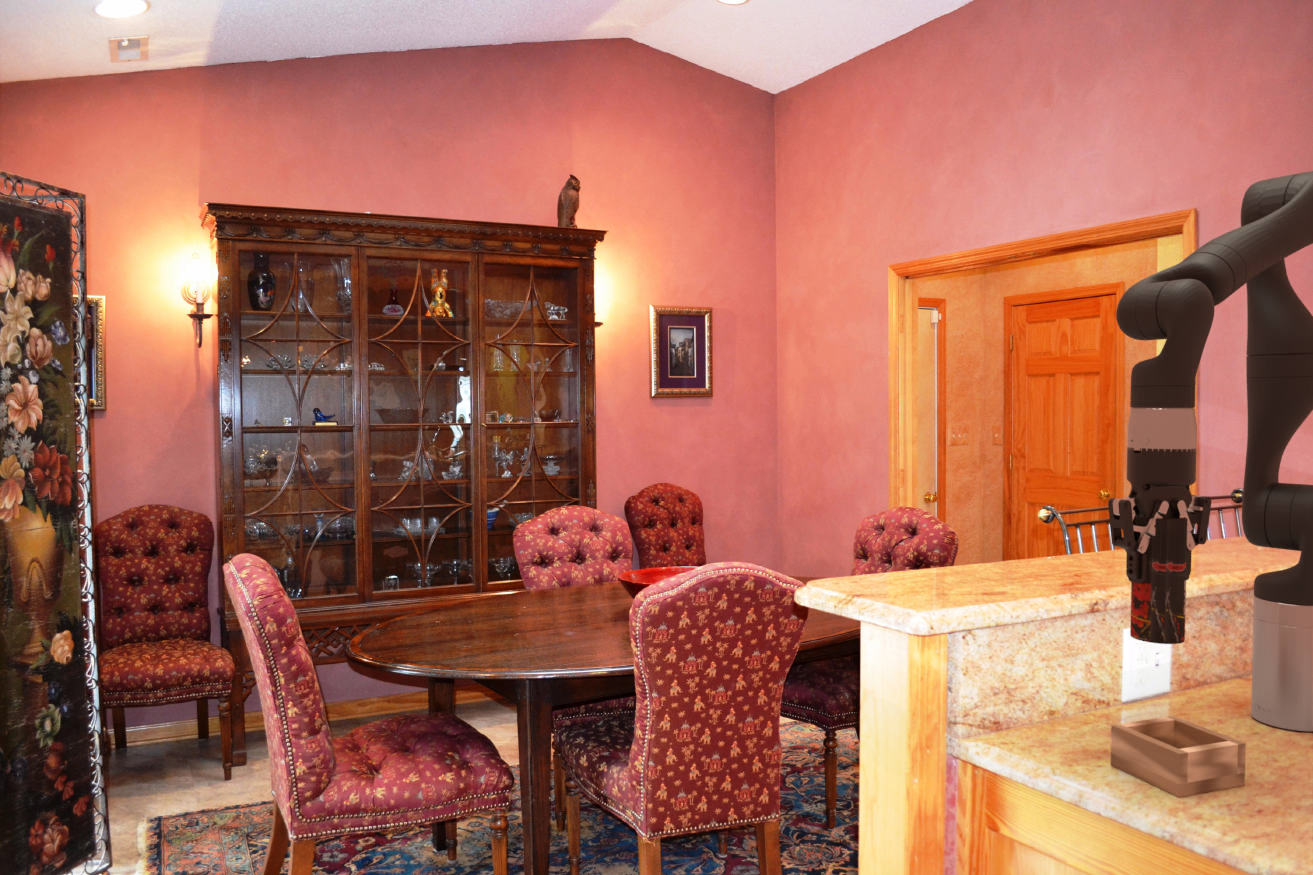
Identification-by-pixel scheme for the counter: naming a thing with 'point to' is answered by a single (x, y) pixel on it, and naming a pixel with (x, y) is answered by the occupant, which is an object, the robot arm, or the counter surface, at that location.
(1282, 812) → the counter surface
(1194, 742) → the wooden box
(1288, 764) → the counter surface
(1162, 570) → the deodorant
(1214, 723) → the counter surface
